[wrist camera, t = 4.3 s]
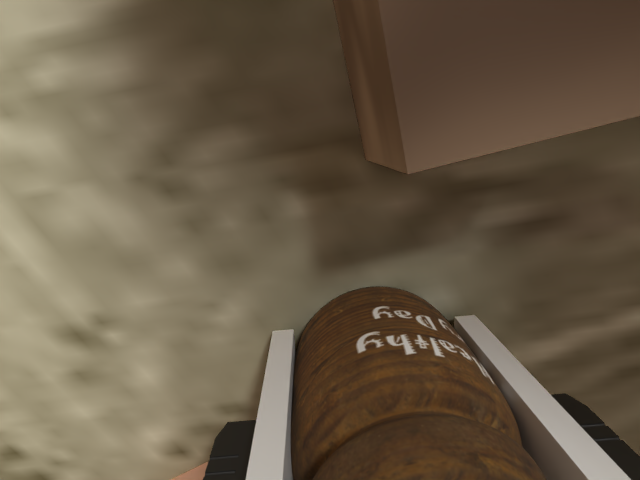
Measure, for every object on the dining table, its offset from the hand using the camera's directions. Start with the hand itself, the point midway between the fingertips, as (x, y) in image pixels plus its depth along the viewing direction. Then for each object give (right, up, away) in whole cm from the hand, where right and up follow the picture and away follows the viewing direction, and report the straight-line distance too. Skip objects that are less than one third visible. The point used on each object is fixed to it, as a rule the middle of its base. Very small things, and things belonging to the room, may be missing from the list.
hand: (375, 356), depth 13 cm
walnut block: (+1, +10, -2) cm, 10 cm away
